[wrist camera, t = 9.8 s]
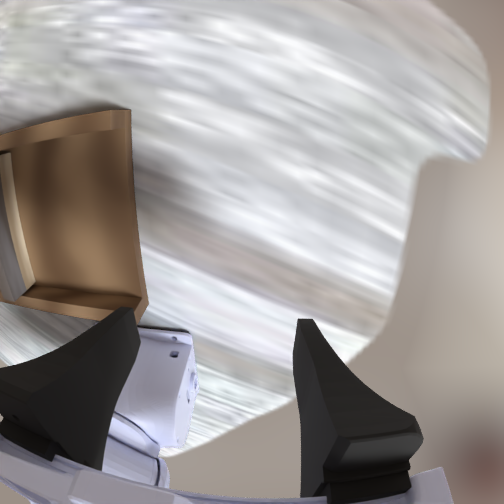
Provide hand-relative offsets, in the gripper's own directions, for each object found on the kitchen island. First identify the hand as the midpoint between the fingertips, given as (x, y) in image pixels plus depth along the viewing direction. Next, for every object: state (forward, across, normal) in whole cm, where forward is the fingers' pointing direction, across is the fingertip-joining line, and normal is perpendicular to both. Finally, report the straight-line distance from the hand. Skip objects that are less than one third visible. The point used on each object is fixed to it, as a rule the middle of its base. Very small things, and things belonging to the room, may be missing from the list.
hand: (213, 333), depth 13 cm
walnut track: (+9, +21, -2) cm, 23 cm away
